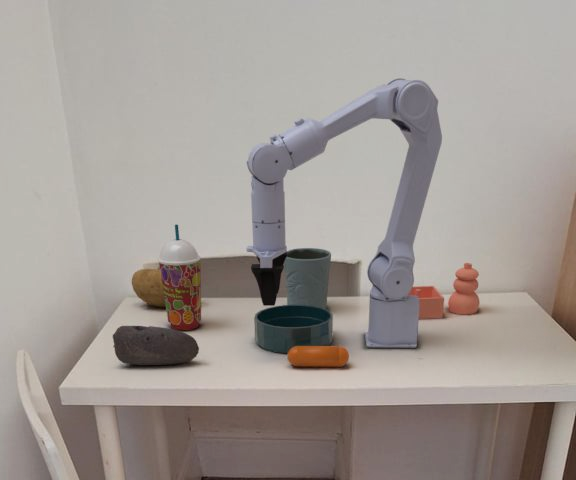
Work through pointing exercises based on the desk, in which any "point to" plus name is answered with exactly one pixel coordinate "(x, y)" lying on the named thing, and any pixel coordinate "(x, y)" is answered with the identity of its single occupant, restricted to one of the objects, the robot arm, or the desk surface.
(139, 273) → the potato
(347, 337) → the desk surface
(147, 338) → the perforated stone tool
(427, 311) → the bottle and box
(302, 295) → the green cylindrical vase
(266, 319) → the teal shallow bowl
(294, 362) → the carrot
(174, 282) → the smoothie
